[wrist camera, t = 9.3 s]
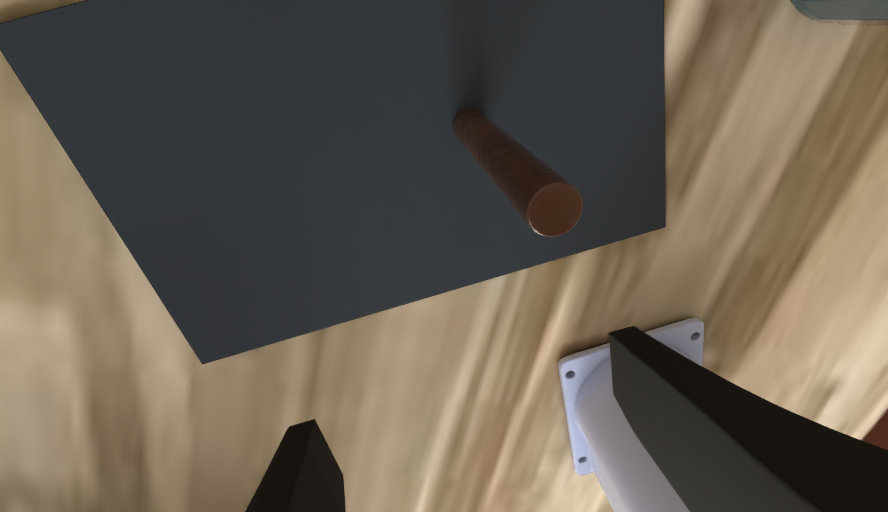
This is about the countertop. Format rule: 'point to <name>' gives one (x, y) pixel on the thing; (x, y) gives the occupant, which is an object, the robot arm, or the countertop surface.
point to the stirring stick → (520, 175)
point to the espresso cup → (845, 11)
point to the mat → (342, 143)
